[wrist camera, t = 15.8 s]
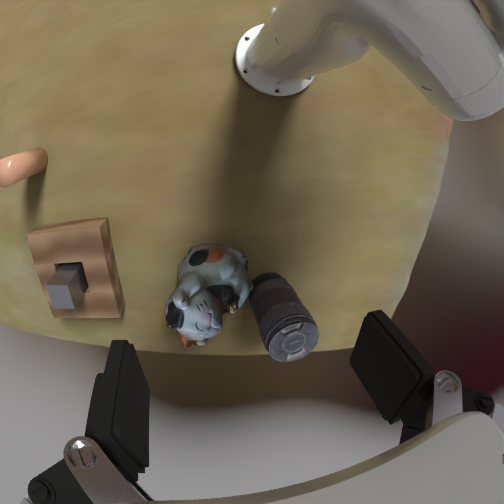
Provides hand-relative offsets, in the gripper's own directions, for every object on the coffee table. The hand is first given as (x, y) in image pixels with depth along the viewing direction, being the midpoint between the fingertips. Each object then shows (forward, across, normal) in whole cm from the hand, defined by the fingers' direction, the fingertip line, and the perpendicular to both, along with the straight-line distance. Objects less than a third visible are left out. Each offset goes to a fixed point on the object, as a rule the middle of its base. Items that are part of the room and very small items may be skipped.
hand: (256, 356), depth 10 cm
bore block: (+33, +23, +12) cm, 42 cm away
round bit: (+33, +28, -7) cm, 44 cm away
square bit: (+33, +23, +12) cm, 42 cm away
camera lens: (+34, -10, +19) cm, 40 cm away
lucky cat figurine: (+34, 0, +17) cm, 37 cm away
